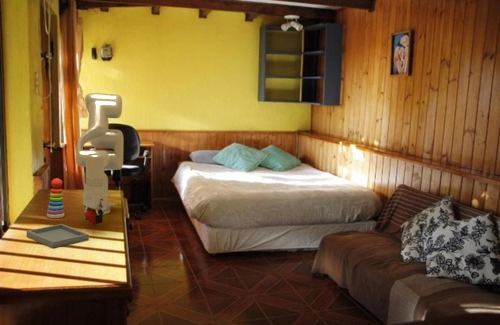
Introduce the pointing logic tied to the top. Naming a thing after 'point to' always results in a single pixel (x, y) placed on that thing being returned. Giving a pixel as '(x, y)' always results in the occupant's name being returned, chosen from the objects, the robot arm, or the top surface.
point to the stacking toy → (56, 200)
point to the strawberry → (91, 216)
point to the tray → (57, 235)
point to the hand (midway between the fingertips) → (94, 221)
